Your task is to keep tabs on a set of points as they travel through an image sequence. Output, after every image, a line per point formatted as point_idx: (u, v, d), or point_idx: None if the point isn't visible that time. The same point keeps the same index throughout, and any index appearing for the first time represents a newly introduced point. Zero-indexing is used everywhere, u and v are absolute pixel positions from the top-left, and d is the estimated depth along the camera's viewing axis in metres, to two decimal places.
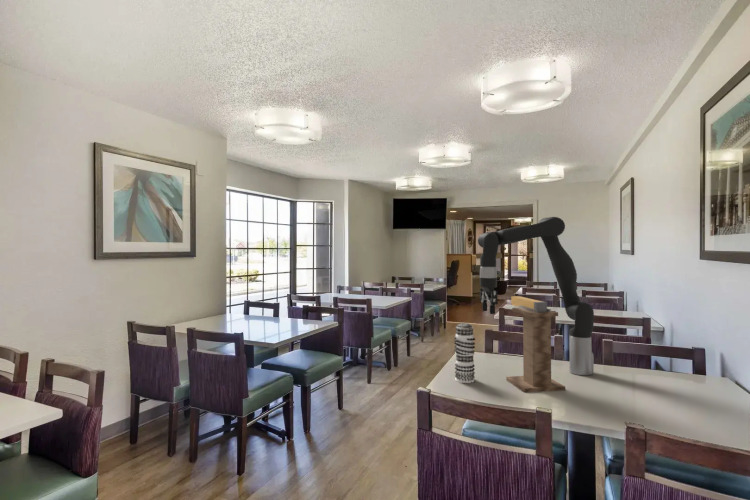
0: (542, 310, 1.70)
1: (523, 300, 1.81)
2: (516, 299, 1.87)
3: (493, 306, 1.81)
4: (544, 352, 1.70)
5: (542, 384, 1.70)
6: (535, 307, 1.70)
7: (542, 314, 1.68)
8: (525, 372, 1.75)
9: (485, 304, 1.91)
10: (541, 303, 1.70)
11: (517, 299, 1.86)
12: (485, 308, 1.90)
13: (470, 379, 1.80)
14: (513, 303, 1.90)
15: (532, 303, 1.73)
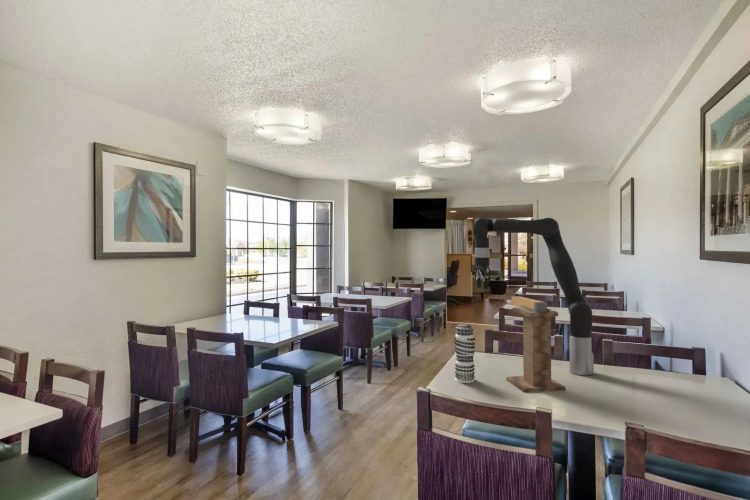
0: (542, 310, 1.70)
1: (523, 300, 1.81)
2: (516, 299, 1.87)
3: (486, 282, 2.06)
4: (544, 352, 1.70)
5: (542, 384, 1.70)
6: (535, 307, 1.70)
7: (542, 314, 1.68)
8: (525, 372, 1.75)
9: (479, 281, 2.15)
10: (541, 303, 1.70)
11: (517, 299, 1.86)
12: (479, 285, 2.15)
13: (470, 379, 1.80)
14: (513, 303, 1.90)
15: (532, 303, 1.73)
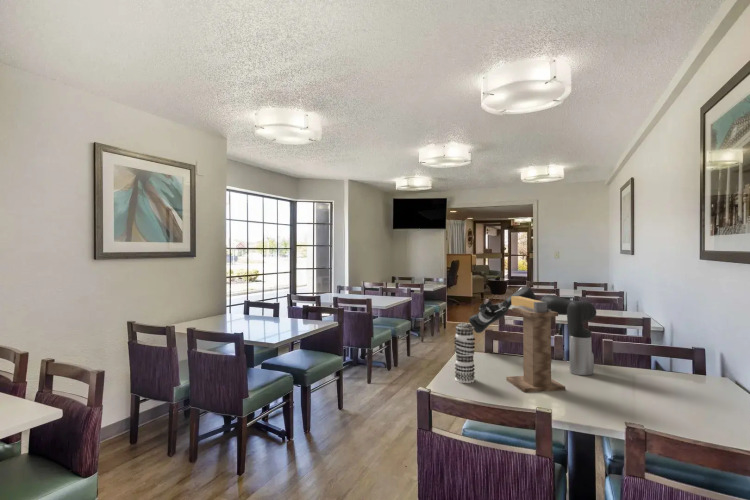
0: (542, 310, 1.70)
1: (523, 300, 1.81)
2: (516, 299, 1.87)
3: None
4: (544, 352, 1.70)
5: (542, 384, 1.70)
6: (535, 307, 1.70)
7: (542, 314, 1.68)
8: (525, 372, 1.75)
9: None
10: (541, 303, 1.70)
11: (517, 299, 1.86)
12: None
13: (470, 379, 1.80)
14: (513, 303, 1.90)
15: (532, 303, 1.73)
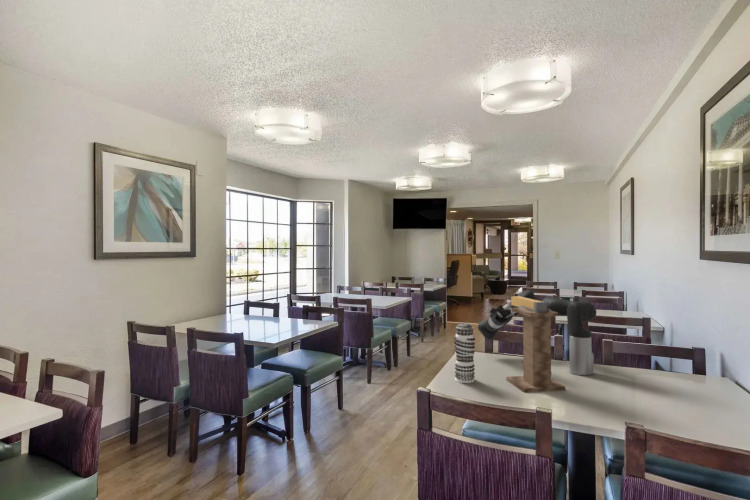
0: (542, 310, 1.70)
1: (523, 300, 1.81)
2: (516, 299, 1.87)
3: None
4: (544, 352, 1.70)
5: (542, 384, 1.70)
6: (535, 307, 1.70)
7: (542, 314, 1.68)
8: (525, 372, 1.75)
9: None
10: (541, 303, 1.70)
11: (517, 299, 1.86)
12: None
13: (470, 379, 1.80)
14: (513, 303, 1.90)
15: (532, 303, 1.73)
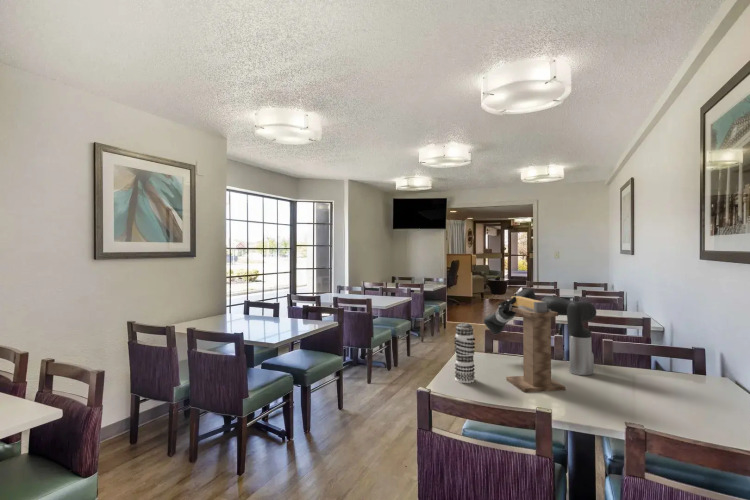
0: (542, 310, 1.70)
1: (523, 300, 1.81)
2: (516, 299, 1.87)
3: None
4: (544, 352, 1.70)
5: (542, 384, 1.70)
6: (535, 307, 1.70)
7: (542, 314, 1.68)
8: (525, 372, 1.75)
9: None
10: (541, 303, 1.70)
11: (517, 299, 1.86)
12: None
13: (470, 379, 1.80)
14: None
15: (532, 303, 1.73)
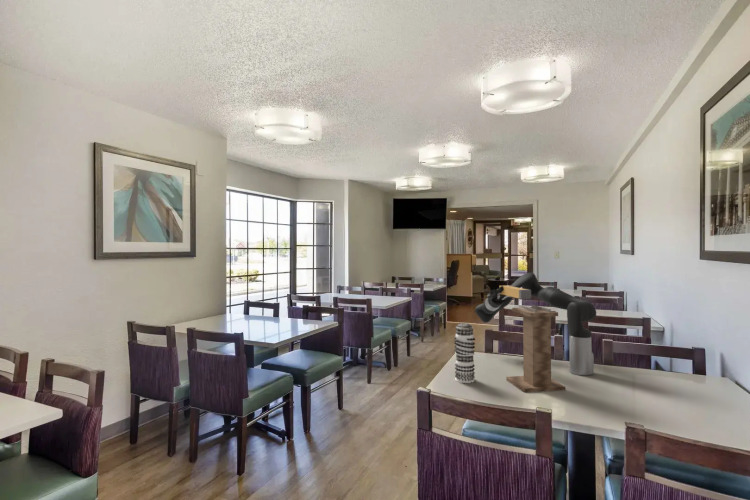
0: (526, 297, 1.82)
1: (509, 288, 1.93)
2: None
3: None
4: (544, 352, 1.70)
5: (542, 384, 1.70)
6: (520, 294, 1.83)
7: (542, 314, 1.68)
8: (525, 372, 1.75)
9: None
10: (525, 291, 1.82)
11: (504, 288, 1.99)
12: None
13: (470, 379, 1.80)
14: (501, 292, 2.03)
15: (517, 291, 1.86)
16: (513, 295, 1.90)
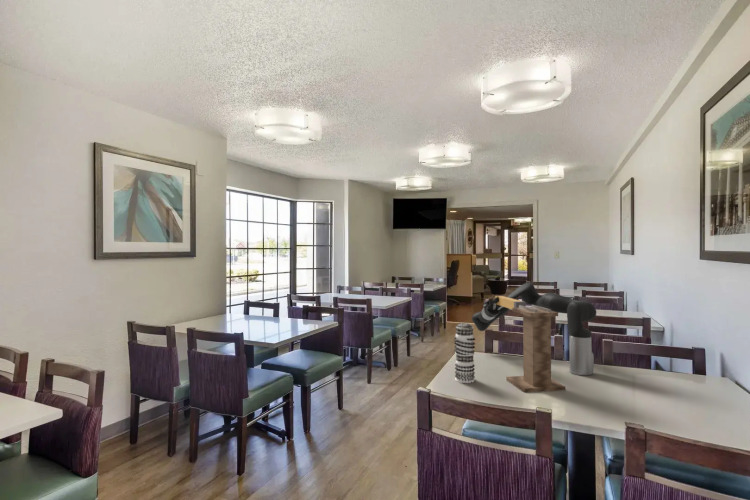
0: None
1: (505, 300, 1.99)
2: (499, 299, 2.05)
3: None
4: (544, 352, 1.70)
5: (542, 384, 1.70)
6: (515, 306, 1.88)
7: (542, 314, 1.68)
8: (525, 372, 1.75)
9: None
10: (520, 302, 1.88)
11: (500, 299, 2.04)
12: None
13: (470, 379, 1.80)
14: None
15: (512, 302, 1.91)
16: (508, 306, 1.95)
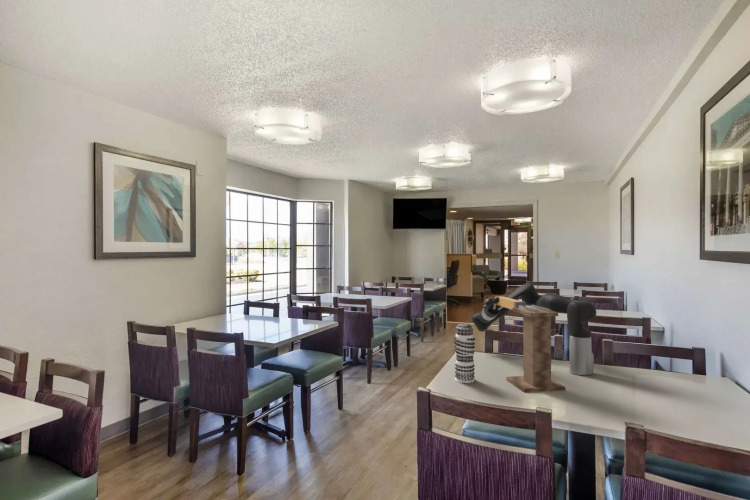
0: None
1: (505, 300, 1.99)
2: (499, 299, 2.05)
3: None
4: (544, 352, 1.70)
5: (542, 384, 1.70)
6: (515, 306, 1.88)
7: (542, 314, 1.68)
8: (525, 372, 1.75)
9: None
10: (520, 303, 1.88)
11: (500, 299, 2.04)
12: None
13: (470, 379, 1.80)
14: None
15: (512, 303, 1.91)
16: (508, 306, 1.95)
